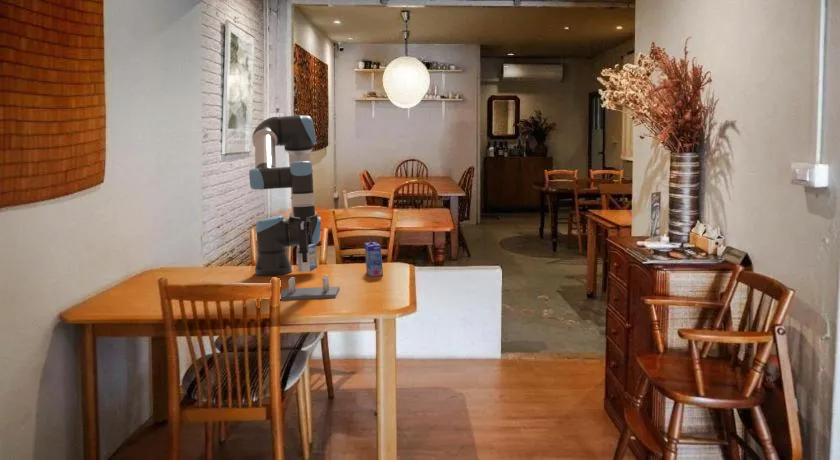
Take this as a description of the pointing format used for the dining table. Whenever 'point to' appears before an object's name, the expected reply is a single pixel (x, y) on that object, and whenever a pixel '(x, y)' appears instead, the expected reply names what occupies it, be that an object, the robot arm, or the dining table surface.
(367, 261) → the ink cartridge box
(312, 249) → the medicine box
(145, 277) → the dining table surface
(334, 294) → the cradle
